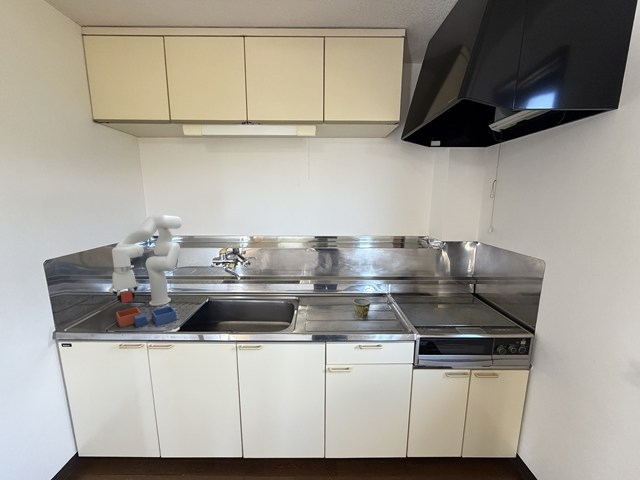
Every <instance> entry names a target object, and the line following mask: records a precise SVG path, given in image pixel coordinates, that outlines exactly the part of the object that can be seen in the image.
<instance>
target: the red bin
mask: <svg viewBox="0 0 640 480" xmlns="http://www.w3.org/2000/svg"><path fill="white" fill-rule="evenodd" d="M140 314H142V312H141V311H140V309H139V307H137V306H136V307H132V308H127V309H123V310H119V311H115V315H116V321H117V323H118V326H119V328H123V327H128V326H130V325H135V321H134V316H136V315H140Z"/></svg>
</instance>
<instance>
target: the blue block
mask: <svg viewBox="0 0 640 480" xmlns="http://www.w3.org/2000/svg"><path fill="white" fill-rule="evenodd" d="M134 321H135V323H134V325H135V327H136V328H140V327H143V326H147V325H148V319H147V315H146V314H145V313H141V314H140V315H136V316H134Z"/></svg>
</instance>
